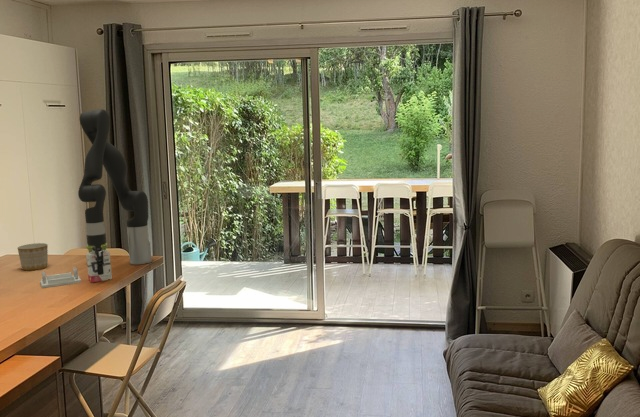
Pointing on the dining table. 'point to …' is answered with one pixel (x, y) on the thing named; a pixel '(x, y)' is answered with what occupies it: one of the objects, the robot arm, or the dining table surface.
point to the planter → (33, 256)
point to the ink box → (93, 267)
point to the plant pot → (92, 246)
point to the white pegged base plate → (60, 279)
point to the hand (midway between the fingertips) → (99, 272)
